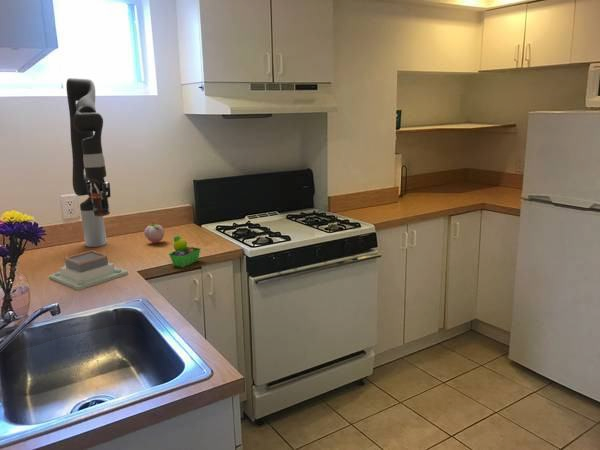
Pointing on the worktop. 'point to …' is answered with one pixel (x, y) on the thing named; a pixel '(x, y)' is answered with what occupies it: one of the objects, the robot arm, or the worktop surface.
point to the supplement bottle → (98, 204)
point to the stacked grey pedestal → (87, 270)
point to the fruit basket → (183, 253)
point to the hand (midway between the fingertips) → (100, 207)
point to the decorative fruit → (154, 233)
